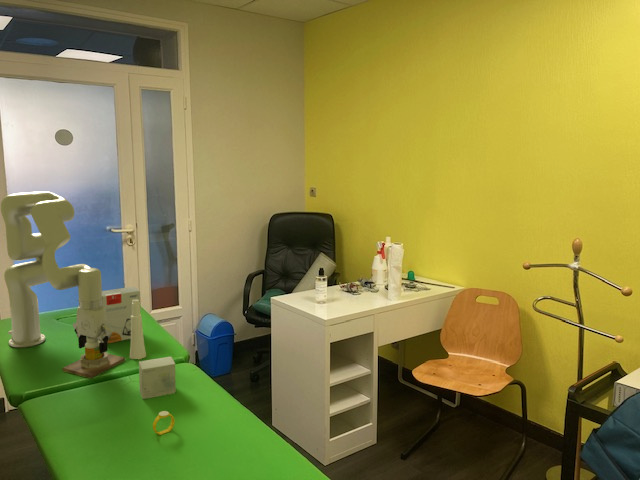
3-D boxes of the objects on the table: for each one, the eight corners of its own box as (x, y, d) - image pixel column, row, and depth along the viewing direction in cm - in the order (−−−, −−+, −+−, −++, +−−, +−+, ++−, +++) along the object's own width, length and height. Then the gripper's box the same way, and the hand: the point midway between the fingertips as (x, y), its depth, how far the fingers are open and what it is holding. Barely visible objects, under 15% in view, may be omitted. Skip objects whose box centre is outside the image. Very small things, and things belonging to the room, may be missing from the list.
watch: (170, 427, 151) (171, 408, 150) (175, 432, 149) (176, 412, 148) (151, 433, 147) (151, 413, 146) (155, 438, 145) (156, 417, 144)
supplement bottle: (96, 366, 185) (94, 340, 183) (82, 364, 186) (80, 338, 184) (105, 360, 190) (103, 334, 188) (92, 358, 191) (90, 333, 189)
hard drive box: (103, 345, 206) (100, 296, 203) (97, 339, 212) (94, 291, 208) (142, 336, 216) (140, 290, 212) (135, 331, 222) (133, 285, 218)
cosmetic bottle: (149, 355, 198) (147, 299, 194) (138, 361, 193) (135, 303, 189) (137, 352, 201) (135, 296, 197) (125, 357, 196) (123, 301, 191)
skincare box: (142, 400, 165) (141, 369, 163) (139, 391, 171) (138, 361, 169) (176, 393, 170) (175, 363, 168) (172, 385, 176) (171, 355, 174)
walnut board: (62, 371, 183) (62, 361, 183) (98, 354, 198) (97, 345, 197) (91, 378, 179) (90, 368, 178) (125, 360, 193) (124, 351, 192)
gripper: (63, 302, 184) (66, 348, 187) (101, 310, 177) (104, 358, 181) (80, 297, 190) (83, 341, 194) (118, 304, 184) (120, 350, 187)
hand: (93, 349), depth 187 cm, fingers open, 9 cm apart
